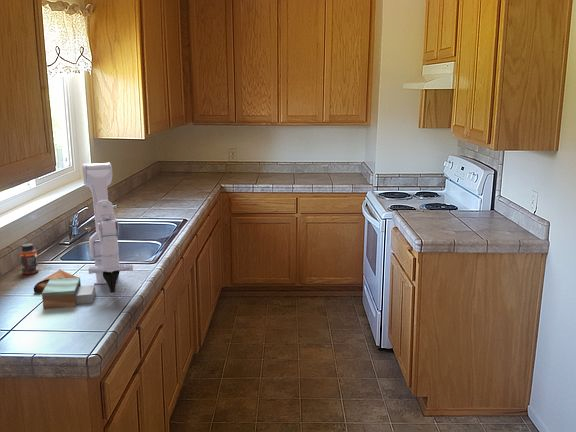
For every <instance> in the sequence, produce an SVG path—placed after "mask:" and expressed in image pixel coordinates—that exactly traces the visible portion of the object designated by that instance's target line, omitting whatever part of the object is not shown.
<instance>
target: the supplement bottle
mask: <svg viewBox="0 0 576 432" xmlns="http://www.w3.org/2000/svg"><path fill="white" fill-rule="evenodd" d="M19 256H20V266H21V272H22V274H24V275H33V274H37V273H38V272H39V262H38V254H37V248H36V249H35V248H34V244H33V243H31V242H30V243H28V242H27V243H25V244H24V243H23V244H22V245H21V250H20V251H19Z"/></svg>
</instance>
